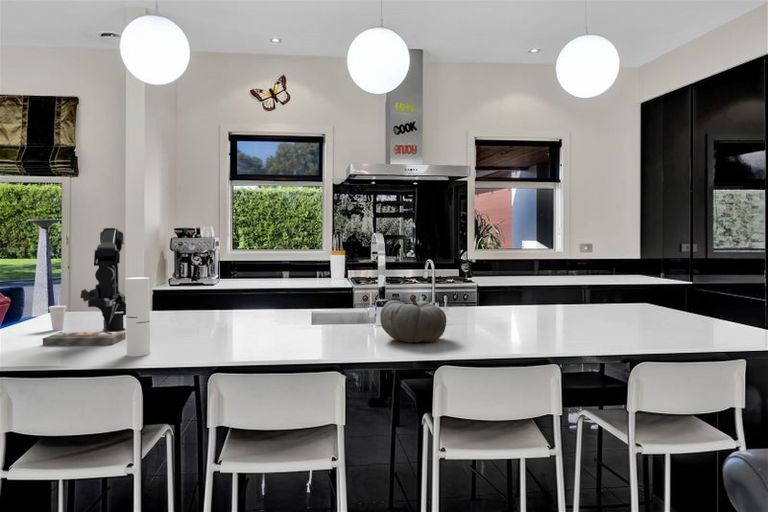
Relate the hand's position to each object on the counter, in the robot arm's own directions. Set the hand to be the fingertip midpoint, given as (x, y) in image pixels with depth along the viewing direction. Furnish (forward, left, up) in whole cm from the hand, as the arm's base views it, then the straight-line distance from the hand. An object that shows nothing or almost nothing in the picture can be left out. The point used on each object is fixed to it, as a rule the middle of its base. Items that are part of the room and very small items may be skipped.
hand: (107, 323), depth 210 cm
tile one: (+6, -6, -8) cm, 11 cm away
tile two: (+11, -12, -8) cm, 18 cm away
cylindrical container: (+3, +29, -7) cm, 30 cm away
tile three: (0, 0, -8) cm, 8 cm away
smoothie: (+2, -42, -7) cm, 43 cm away
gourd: (-78, +81, -7) cm, 112 cm away
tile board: (+6, -6, -7) cm, 10 cm away
